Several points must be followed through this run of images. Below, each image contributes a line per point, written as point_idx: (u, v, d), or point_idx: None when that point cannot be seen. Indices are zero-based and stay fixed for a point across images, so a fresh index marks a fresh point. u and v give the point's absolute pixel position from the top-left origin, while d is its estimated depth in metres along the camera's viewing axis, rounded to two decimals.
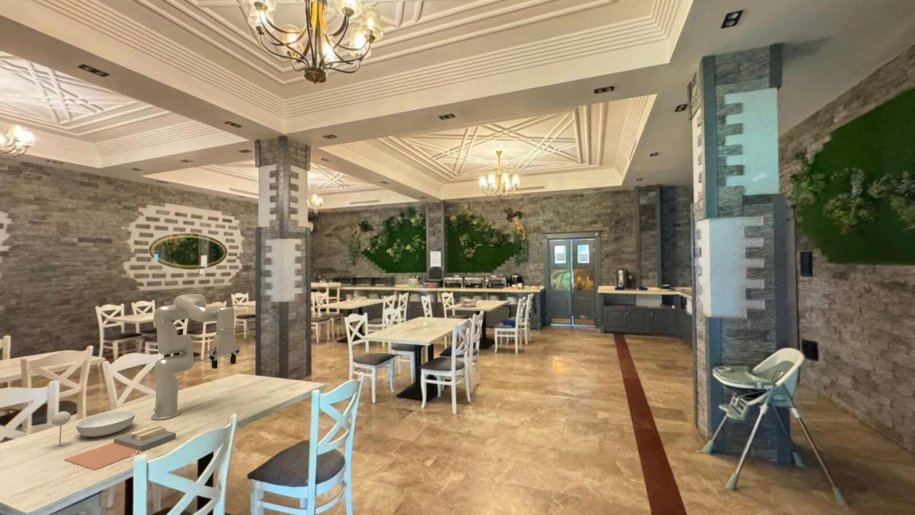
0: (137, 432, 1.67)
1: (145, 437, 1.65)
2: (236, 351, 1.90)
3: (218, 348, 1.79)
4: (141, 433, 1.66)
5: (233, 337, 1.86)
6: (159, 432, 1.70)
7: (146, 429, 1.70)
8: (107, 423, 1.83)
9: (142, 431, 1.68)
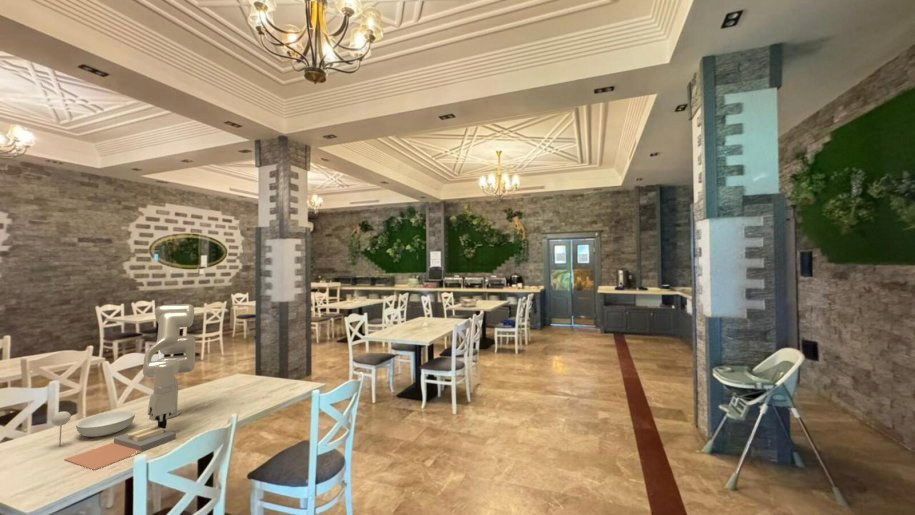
0: (135, 433, 1.66)
1: (143, 438, 1.64)
2: None
3: (154, 409, 1.70)
4: (139, 434, 1.65)
5: (173, 395, 1.77)
6: (157, 433, 1.69)
7: (144, 430, 1.69)
8: (107, 423, 1.83)
9: (140, 432, 1.67)
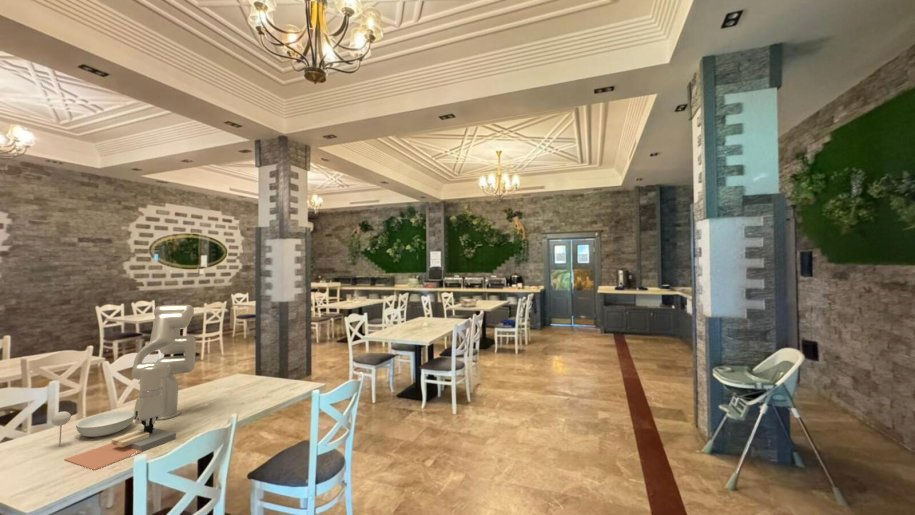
0: (119, 438, 1.61)
1: (127, 443, 1.58)
2: None
3: (140, 413, 1.65)
4: (123, 439, 1.60)
5: (160, 398, 1.72)
6: (142, 438, 1.64)
7: (129, 435, 1.64)
8: (107, 423, 1.83)
9: (124, 437, 1.62)
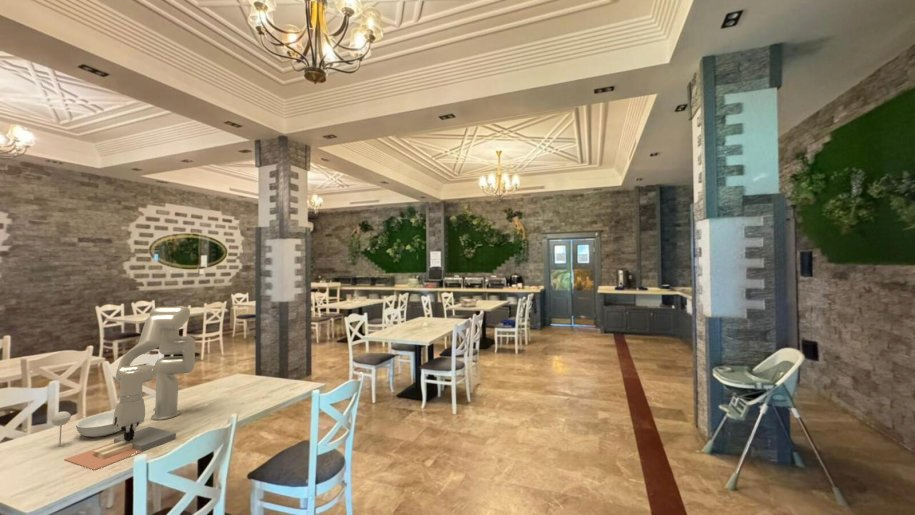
0: (101, 449, 1.54)
1: (109, 455, 1.52)
2: None
3: (120, 419, 1.58)
4: (105, 450, 1.54)
5: (141, 403, 1.65)
6: (125, 449, 1.57)
7: (111, 446, 1.58)
8: (107, 423, 1.83)
9: (106, 448, 1.56)
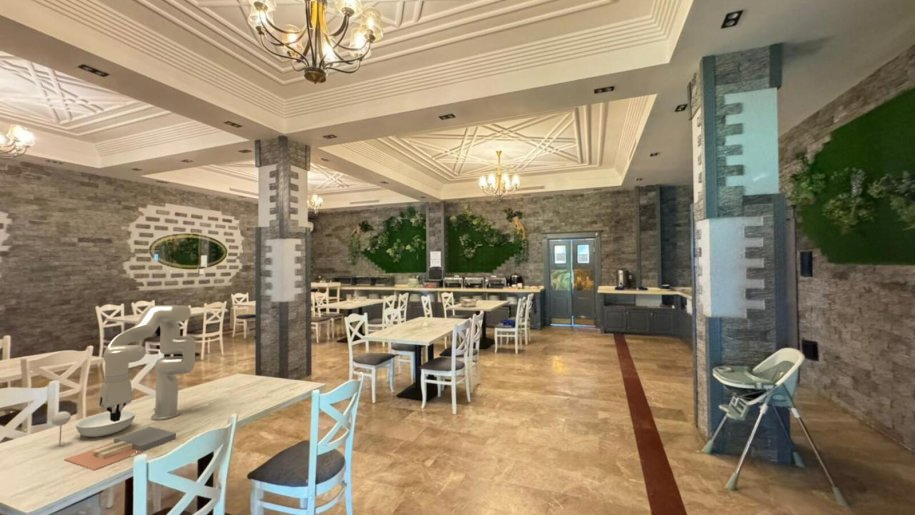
0: (101, 449, 1.54)
1: (109, 455, 1.52)
2: None
3: (105, 399, 1.53)
4: (105, 450, 1.54)
5: (127, 384, 1.60)
6: (125, 449, 1.57)
7: (111, 446, 1.58)
8: (107, 423, 1.83)
9: (106, 448, 1.56)
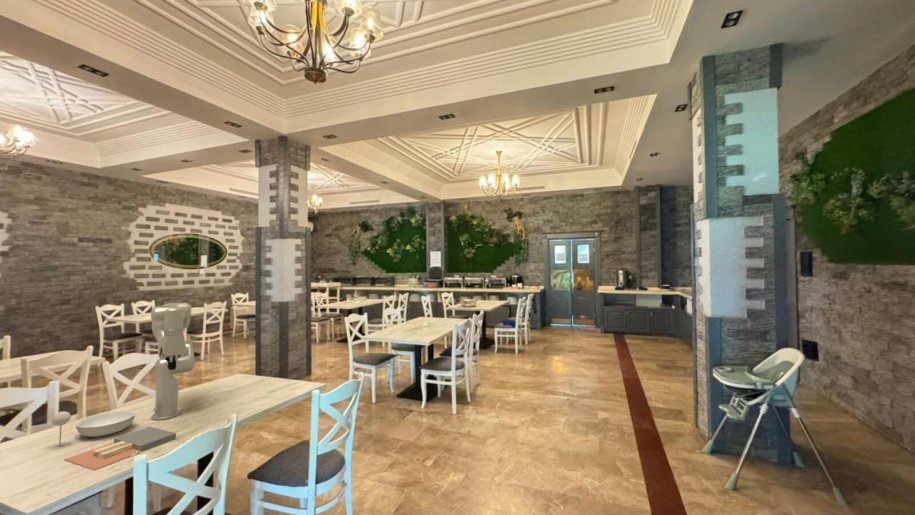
0: (101, 449, 1.54)
1: (109, 455, 1.52)
2: None
3: (165, 349, 1.79)
4: (105, 450, 1.54)
5: (182, 338, 1.86)
6: (125, 449, 1.57)
7: (111, 446, 1.58)
8: (107, 423, 1.83)
9: (106, 448, 1.56)
